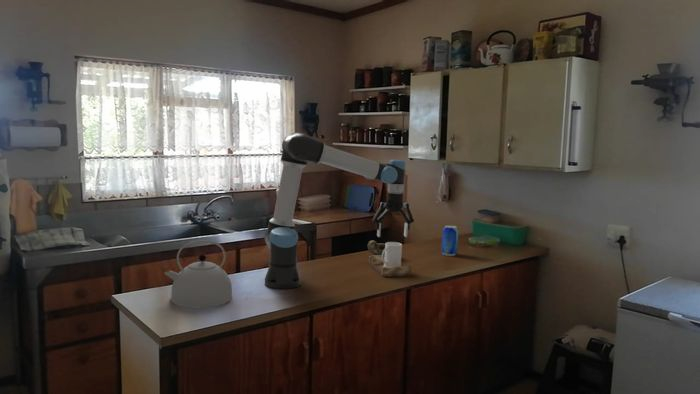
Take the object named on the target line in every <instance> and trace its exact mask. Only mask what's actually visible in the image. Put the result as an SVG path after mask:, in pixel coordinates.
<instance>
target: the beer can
mask: <svg viewBox="0 0 700 394" xmlns="http://www.w3.org/2000/svg"><path fill="white" fill-rule="evenodd" d="M458 239H459V230H458V227H457V226H456V225H450V224H448V225H444V228H443V230H442V239H441V249H440V250H441V254H442V255H443V256H447V257H455V256H456V254H457V253H458V242H459V241H458Z"/></svg>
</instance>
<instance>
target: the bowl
mask: <svg viewBox="0 0 700 394" xmlns="http://www.w3.org/2000/svg"><path fill="white" fill-rule="evenodd" d="M384 249H385V243H377V241H375V240H374V239H373V240H372V239H371V240H370V241H368V243H367V250H368V251H369V253H371V254H372V256H379V255H382V253H383V251H384ZM383 255H385V252H384V254H383Z"/></svg>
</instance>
